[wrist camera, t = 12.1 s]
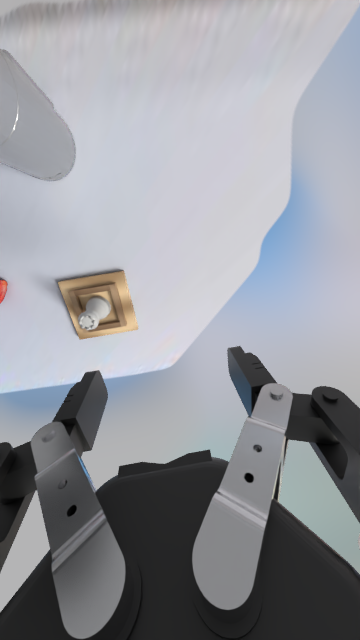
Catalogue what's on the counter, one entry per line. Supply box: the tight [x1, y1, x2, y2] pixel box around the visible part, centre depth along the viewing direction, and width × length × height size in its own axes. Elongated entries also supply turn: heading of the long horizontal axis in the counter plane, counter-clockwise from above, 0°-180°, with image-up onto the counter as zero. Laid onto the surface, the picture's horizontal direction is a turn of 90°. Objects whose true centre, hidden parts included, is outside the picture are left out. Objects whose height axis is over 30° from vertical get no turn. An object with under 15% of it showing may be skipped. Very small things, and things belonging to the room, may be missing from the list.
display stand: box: [58, 271, 138, 339], centre depth 41 cm, size 12×12×2 cm
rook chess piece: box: [78, 296, 111, 330], centre depth 37 cm, size 4×4×8 cm
